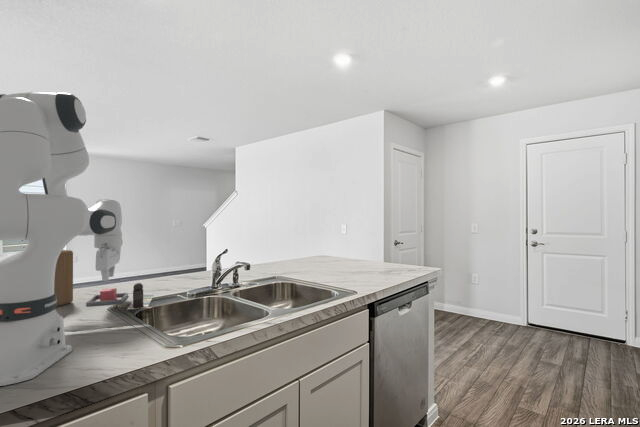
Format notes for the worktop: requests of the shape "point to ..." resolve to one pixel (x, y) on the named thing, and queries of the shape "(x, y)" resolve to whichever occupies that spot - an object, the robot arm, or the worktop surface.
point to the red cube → (108, 294)
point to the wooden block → (64, 278)
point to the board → (146, 301)
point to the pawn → (138, 295)
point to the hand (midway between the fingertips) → (108, 278)
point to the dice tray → (91, 303)
